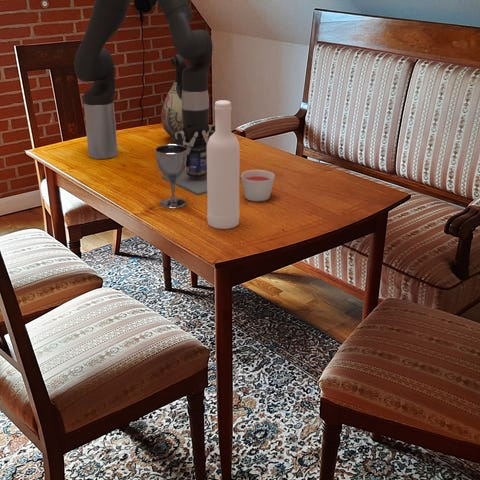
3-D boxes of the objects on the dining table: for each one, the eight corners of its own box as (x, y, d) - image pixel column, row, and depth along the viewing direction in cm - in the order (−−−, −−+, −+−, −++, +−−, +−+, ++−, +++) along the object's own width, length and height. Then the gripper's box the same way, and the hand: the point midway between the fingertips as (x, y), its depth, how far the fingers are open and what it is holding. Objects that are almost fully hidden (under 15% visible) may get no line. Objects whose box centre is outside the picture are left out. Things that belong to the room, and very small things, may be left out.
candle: (234, 195, 171) (234, 174, 168) (259, 189, 176) (260, 167, 173) (254, 206, 164) (255, 183, 161) (280, 198, 169) (281, 176, 166)
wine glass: (176, 211, 160) (174, 155, 154) (152, 204, 164) (149, 149, 158) (194, 201, 166) (193, 147, 160) (170, 195, 170) (168, 142, 164)
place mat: (161, 177, 183) (161, 175, 183) (195, 169, 190) (195, 167, 190) (197, 195, 171) (197, 193, 170) (232, 185, 177) (232, 183, 177)
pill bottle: (204, 178, 178) (203, 141, 173) (183, 176, 179) (182, 139, 174) (209, 171, 183) (209, 135, 178) (189, 170, 184) (188, 133, 179)
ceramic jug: (159, 135, 223) (155, 49, 210) (201, 133, 227) (200, 48, 214) (165, 149, 208) (161, 57, 195) (211, 146, 212) (210, 56, 199)
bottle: (237, 216, 158) (238, 97, 145) (241, 228, 151) (242, 105, 138) (206, 217, 157) (204, 98, 144) (208, 230, 150) (206, 106, 137)
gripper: (208, 100, 179) (208, 156, 186) (166, 107, 171) (168, 165, 178) (224, 105, 174) (224, 162, 181) (181, 112, 165) (183, 172, 173)
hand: (196, 163), depth 179 cm, fingers closed on pill bottle, 6 cm apart
